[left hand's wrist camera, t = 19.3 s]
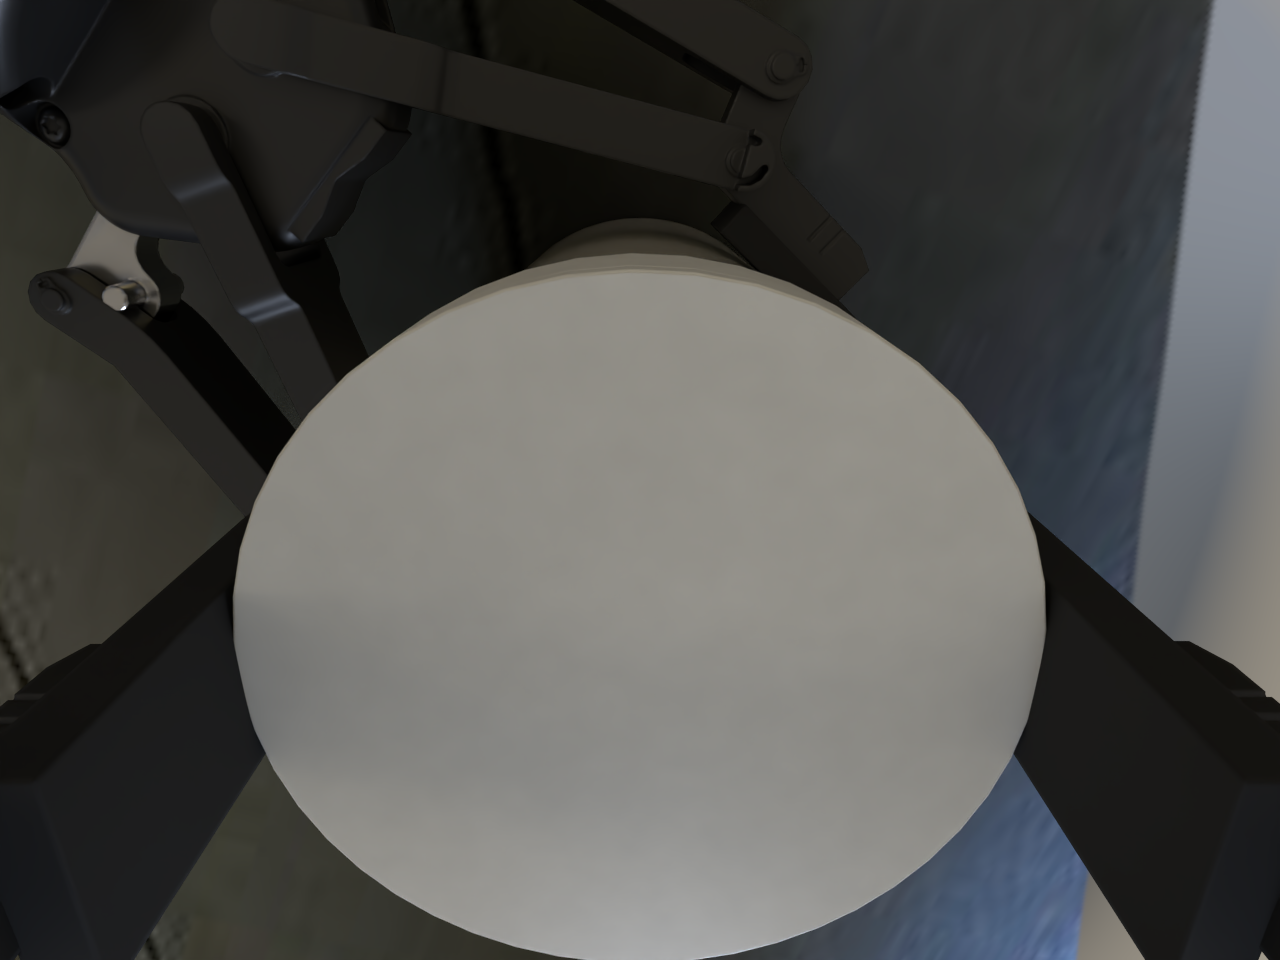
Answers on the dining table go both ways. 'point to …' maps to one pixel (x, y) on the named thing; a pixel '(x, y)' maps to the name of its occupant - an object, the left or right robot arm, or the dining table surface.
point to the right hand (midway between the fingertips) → (758, 540)
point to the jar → (639, 242)
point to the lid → (639, 611)
